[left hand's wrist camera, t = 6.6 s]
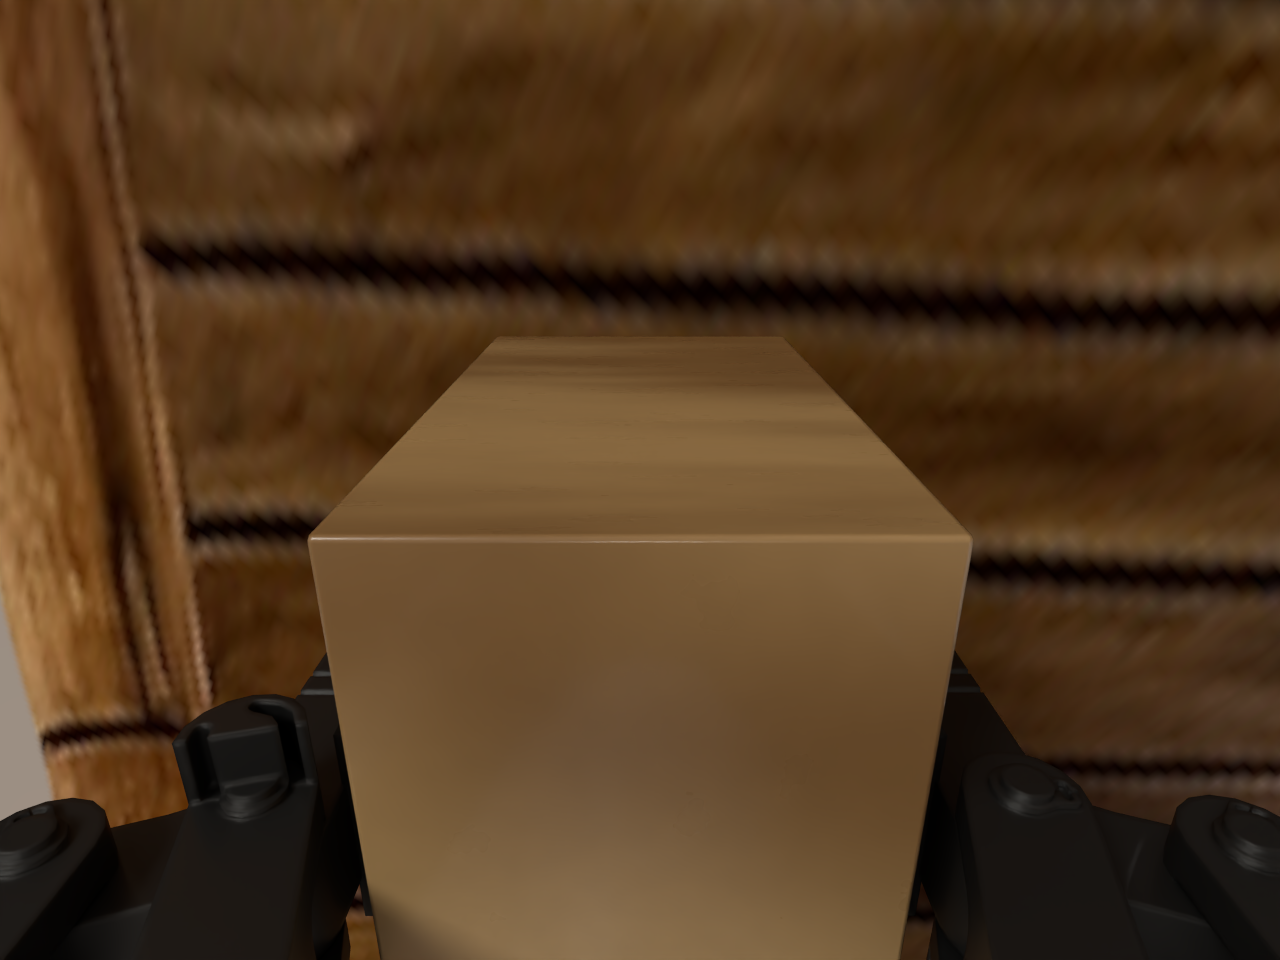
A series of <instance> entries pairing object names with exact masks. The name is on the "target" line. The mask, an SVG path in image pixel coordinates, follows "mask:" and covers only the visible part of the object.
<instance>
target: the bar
mask: <svg viewBox="0 0 1280 960" xmlns="http://www.w3.org/2000/svg"><path fill="white" fill-rule="evenodd" d="M308 547H309V553H310V558H311V564H312V570H313V576H314V581H315V587H316V593H317V598H318V604H319V610H320V616H321V621H322V627H323V633H324V638H325V644H326V650H327V656H328V661H329V667H330V673H331V678H332V684H333V690H334V696H335V701H336V707H337V713H338V719H339V724H340V730H341V736H342V741H343V747H344V753H345V759H346V764H347V770H348V776H349V781H350V787H351V793H352V799H353V804H354V810H355V816H356V822H357V827H358V833H359V839H360V844H361V850H362V856H363V862H364V867H365V873H366V879H367V884H368V890H369V896H370V902H371V907H372V913H373V919H374V924H375V930H376V936H377V942H378V947H379V953H380V959H381V960H900V957H901V952H902V946H903V940H904V934H905V929H906V923H907V917H908V912H909V906H910V900H911V895H912V889H913V883H914V877H915V872H916V866H917V860H918V855H919V849H920V843H921V838H922V832H923V826H924V820H925V815H926V809H927V803H928V798H929V792H930V786H931V781H932V775H933V769H934V763H935V758H936V752H937V746H938V741H939V735H940V729H941V724H942V718H943V712H944V706H945V701H946V695H947V689H948V684H949V678H950V672H951V667H952V661H953V655H954V649H955V644H956V638H957V632H958V627H959V621H960V615H961V610H962V604H963V598H964V592H965V587H966V581H967V575H968V570H969V564H970V558H971V553H972V547H973V538H972V535H971V534H970V533H969V532H968V531H967V530H966V529H965V528H964V527H963V525H962V524H961V523H960V522H959V521H958V520H957V519H956V518H955V517H954V516H953V515H952V514H951V513H950V512H949V511H948V510H947V509H946V508H945V507H944V506H943V504H942V503H941V502H940V501H939V500H938V499H937V498H936V497H935V496H934V495H933V494H932V493H931V492H930V491H929V490H928V489H927V488H926V487H925V486H924V484H923V483H922V482H921V481H920V480H919V479H918V478H917V477H916V476H915V475H914V474H913V473H912V472H911V471H910V470H909V469H908V468H907V467H906V466H905V465H904V463H903V462H902V461H901V460H900V459H899V458H898V457H897V456H896V455H895V454H894V453H893V452H892V451H891V450H890V449H889V448H888V447H887V446H886V445H885V444H884V442H883V441H882V440H881V439H880V438H879V437H878V436H877V435H876V434H875V433H874V432H873V431H872V430H871V429H870V428H869V427H868V426H867V425H866V424H865V423H864V421H863V420H862V419H861V418H860V417H859V416H858V415H857V414H856V413H855V412H854V411H853V410H852V409H851V408H850V407H849V406H848V405H847V404H846V403H845V402H844V400H843V399H842V398H841V397H840V396H839V395H838V394H837V393H836V392H835V391H834V390H833V389H832V388H831V387H830V386H829V385H828V384H827V383H826V382H825V381H824V379H823V378H822V377H821V376H820V375H819V374H818V373H817V372H816V371H815V370H814V369H813V368H812V367H811V366H810V365H809V364H808V363H807V362H806V361H805V359H804V358H803V357H802V356H801V355H800V354H799V353H798V352H797V351H796V350H795V349H794V348H793V347H792V346H791V345H790V344H789V343H788V342H787V341H786V340H785V338H783V337H497V338H496V339H495V340H494V341H493V342H492V343H491V344H490V345H489V346H488V347H487V348H486V349H485V351H484V352H483V353H482V354H481V355H480V356H479V357H478V358H477V359H476V360H475V361H474V362H473V363H472V364H471V365H470V366H469V367H468V368H467V369H466V371H465V372H464V373H463V374H462V375H461V376H460V377H459V378H458V379H457V380H456V381H455V382H454V383H453V384H452V385H451V386H450V387H449V388H448V390H447V391H446V392H445V393H444V394H443V395H442V396H441V397H440V398H439V399H438V400H437V401H436V402H435V403H434V404H433V405H432V406H431V407H430V408H429V410H428V411H427V412H426V413H425V414H424V415H423V416H422V417H421V418H420V419H419V420H418V421H417V422H416V423H415V424H414V425H413V426H412V427H411V428H410V430H409V431H408V432H407V433H406V434H405V435H404V436H403V437H402V438H401V439H400V440H399V441H398V442H397V443H396V444H395V445H394V446H393V447H392V448H391V450H390V451H389V452H388V453H387V454H386V455H385V456H384V457H383V458H382V459H381V460H380V461H379V462H378V463H377V464H376V465H375V466H374V467H373V469H372V470H371V471H370V472H369V473H368V474H367V475H366V476H365V477H364V478H363V479H362V480H361V481H360V482H359V483H358V484H357V485H356V486H355V487H354V489H353V490H352V491H351V492H350V493H349V494H348V495H347V496H346V497H345V498H344V499H343V500H342V501H341V502H340V503H339V504H338V505H337V506H336V507H335V509H334V510H333V511H332V512H331V513H330V514H329V515H328V516H327V517H326V518H325V519H324V520H323V521H322V522H321V523H320V524H319V525H318V526H317V527H316V529H315V530H314V531H313V532H312V533H311V534H310V535H309V538H308Z"/></svg>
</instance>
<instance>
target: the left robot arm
mask: <svg viewBox="0 0 1280 960" xmlns="http://www.w3.org/2000/svg"><path fill="white" fill-rule="evenodd" d="M172 745H173V749H174V753H175V756H176V760H177V763H178V767H179V771H180V774H181V778H182V782H183V785H184V789H185V792H186V796H187V800H188V803H189V806H188V808H187V809H185V810H182V811H179V812H175V813H172V814H169V815H165V816H160V817H156V818H152V819H147V820H143V821H139V822H135V823H130V824H126V825H122V826H117V827H113V828H110V825H109V822H108V819H107V816H106V813H105V810H104V809H102V808H101V807H100V806H99V805H98V804H96V803H95V802H94V801H91V800H84V799H78V798H68V799H61V800H54V801H47V802H44V803H41V804H38V805H36V806H33V807H30V808H27V809H24V810H21V811H19V812H16V813H14V814H12V815H11V816H9V817H7V818H5V819H3V820H2V821H0V960H349V958H350V941H349V934H348V928H347V923H346V916H347V914H348V911H349V909H350V906H351V904H352V901H353V899H354V896H355V894H356V891H357V889H358V886H359V884H360V888H361V894H362V899H363V905H364V910H365V916H373V913H372V907H371V902H370V896H369V890H368V884H367V879H366V873H365V867H364V862H363V856H362V850H361V844H360V839H359V833H358V827H357V822H356V816H355V810H354V804H353V799H352V793H351V787H350V781H349V776H348V770H347V764H346V759H345V753H344V747H343V741H342V736H341V730H340V724H339V719H338V713H337V707H336V701H335V696H334V690H333V684H332V678H331V673H330V667H329V661H328V656H327V653H326V654H325V656H324V657H323V658H322V660H321V661H320V663H319V664H318V666H317V667H316V669H315V670H314V672H313V676H310V678H309V679H308V681H307V682H306V684H305V685H304V687H303V688H302V690H301V695H298V696H297V697H296V699H293V698H289V697H285V696H281V695H277V694H270V695H252V696H248V697H244V698H240V699H236V700H232V701H228V702H226V703H223V704H221V705H219V706H217V707H215V708H213V709H210V710H208V711H206V712H204V713H202V714H201V715H200V716H198V717H197V718H196V719H194V720H193V721H192V722H190V723H189V724H188V725H186V726H185V727H184V728H183V729H182V731H181V732H180V733H179V735H178V736H177V737H176V739H175V740H174V741H173V743H172ZM921 881H922V884H923V886H924V889H925V891H926V894H927V896H928V899H929V901H930V904H931V906H932V909H933V911H934V914H935V918H934V923H933V928H932V933H931V938H930V944H929V949H928V954H927V959H926V960H1280V817H1279V816H1277V815H1275V814H1273V813H1271V812H1270V811H1268V810H1266V809H1264V808H1261V807H1258V806H1255V805H1253V804H1249V803H1246V802H1244V801H1241V800H1238V799H1234V798H1228V797H1221V796H1214V795H1204V796H1197V797H1190V798H1188V799H1186V800H1185V801H1184V802H1183V803H1182V804H1180V805H1179V806H1178V807H1177V809H1176V812H1175V815H1174V818H1173V821H1172V824H1171V825H1168V824H1164V823H1159V822H1155V821H1151V820H1146V819H1142V818H1138V817H1133V816H1129V815H1125V814H1120V813H1116V812H1112V811H1109V810H1106V809H1102V808H1099V807H1096V806H1092V804H1091V802H1090V801H1089V799H1088V798H1087V796H1086V795H1085V793H1084V792H1083V790H1082V788H1081V787H1080V786H1079V785H1078V784H1077V783H1076V782H1074V781H1073V780H1072V779H1071V778H1070V777H1068V776H1067V775H1066V774H1065V773H1064V772H1062V771H1061V770H1059V769H1057V768H1055V767H1053V766H1051V765H1049V764H1048V763H1046V762H1044V761H1042V760H1040V759H1037V758H1034V757H1030V756H1027V755H1025V754H1024V752H1023V751H1022V749H1021V748H1020V746H1019V745H1018V743H1017V742H1016V740H1015V739H1014V737H1013V736H1012V734H1011V733H1010V732H1009V730H1008V729H1007V727H1006V726H1005V724H1004V723H1003V721H1002V720H1001V718H1000V717H999V715H998V714H997V712H996V711H995V709H994V708H993V706H992V705H991V703H990V702H989V700H988V699H987V698H986V696H985V695H984V693H981V692H980V687H979V686H978V684H977V683H976V681H975V680H974V678H973V677H972V675H971V674H968V669H967V668H966V667H965V665H964V664H963V662H962V661H961V659H960V658H959V656H958V655H957V653H956V652H955V650H954V655H953V661H952V667H951V672H950V678H949V684H948V689H947V695H946V701H945V706H944V712H943V718H942V724H941V729H940V735H939V741H938V746H937V752H936V758H935V763H934V769H933V775H932V781H931V786H930V792H929V798H928V803H927V809H926V815H925V820H924V826H923V832H922V838H921V843H920V849H919V855H918V860H917V866H916V872H915V877H914V883H913V889H912V895H911V900H910V906H909V912H908V916H915V913H916V908H917V902H918V897H919V891H920V885H921Z"/></svg>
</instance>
